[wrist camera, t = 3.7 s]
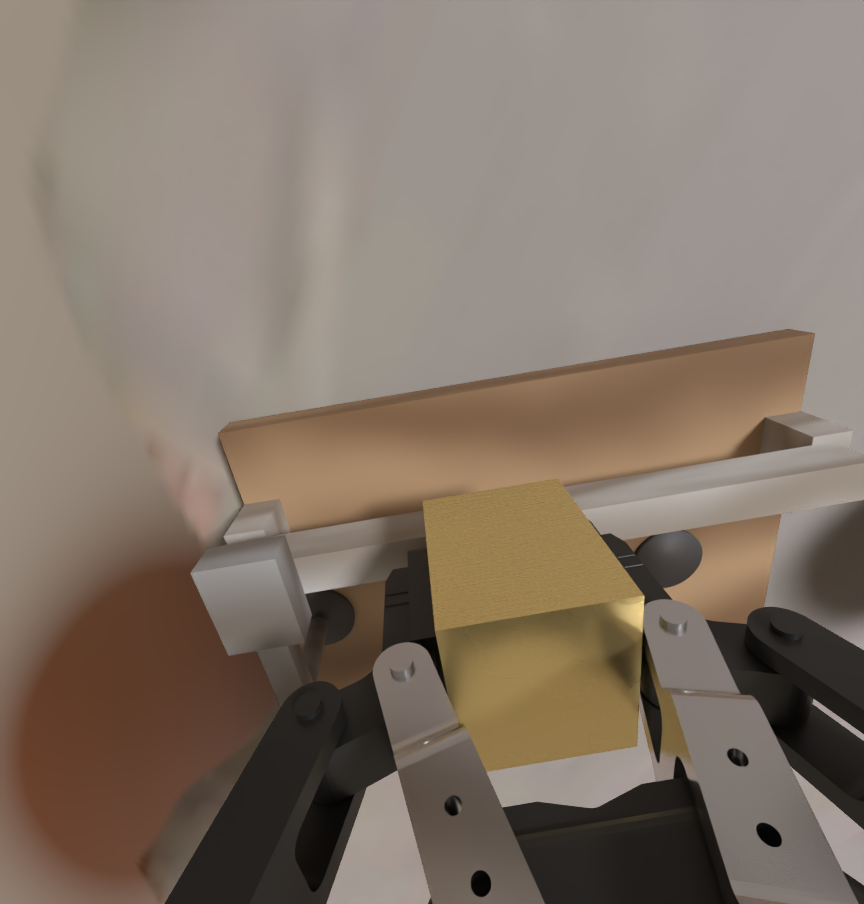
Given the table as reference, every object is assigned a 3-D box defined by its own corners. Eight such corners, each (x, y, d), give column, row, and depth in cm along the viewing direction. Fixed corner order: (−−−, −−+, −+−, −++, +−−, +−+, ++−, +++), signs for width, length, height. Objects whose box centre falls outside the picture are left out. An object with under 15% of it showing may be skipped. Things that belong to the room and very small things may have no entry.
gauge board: (229, 422, 17) (144, 501, 11) (788, 328, 17) (980, 360, 12) (320, 677, 23) (293, 815, 17) (743, 606, 23) (858, 720, 17)
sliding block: (417, 451, 16) (435, 631, 8) (524, 433, 16) (644, 595, 8) (447, 613, 19) (480, 857, 11) (536, 597, 19) (632, 831, 11)
